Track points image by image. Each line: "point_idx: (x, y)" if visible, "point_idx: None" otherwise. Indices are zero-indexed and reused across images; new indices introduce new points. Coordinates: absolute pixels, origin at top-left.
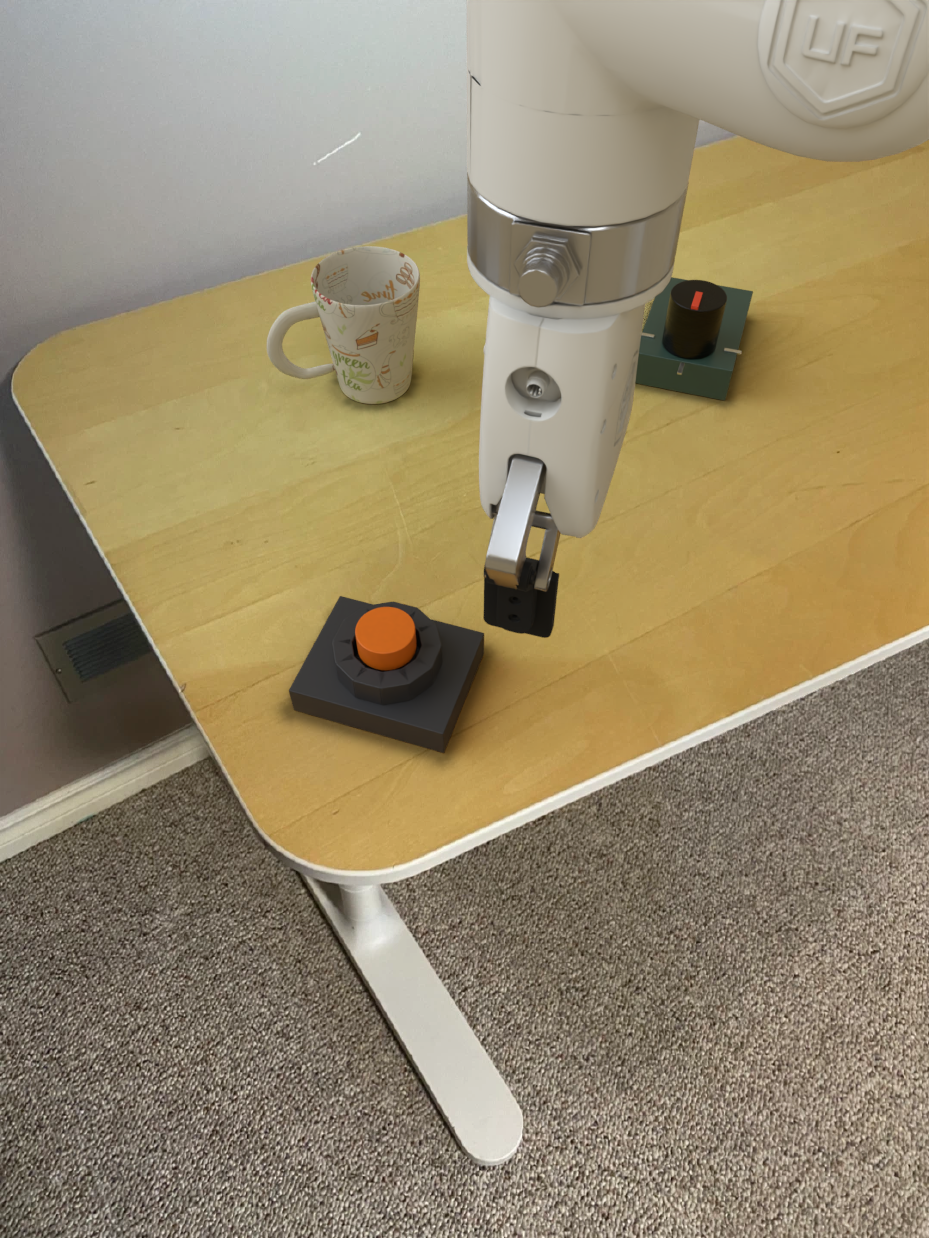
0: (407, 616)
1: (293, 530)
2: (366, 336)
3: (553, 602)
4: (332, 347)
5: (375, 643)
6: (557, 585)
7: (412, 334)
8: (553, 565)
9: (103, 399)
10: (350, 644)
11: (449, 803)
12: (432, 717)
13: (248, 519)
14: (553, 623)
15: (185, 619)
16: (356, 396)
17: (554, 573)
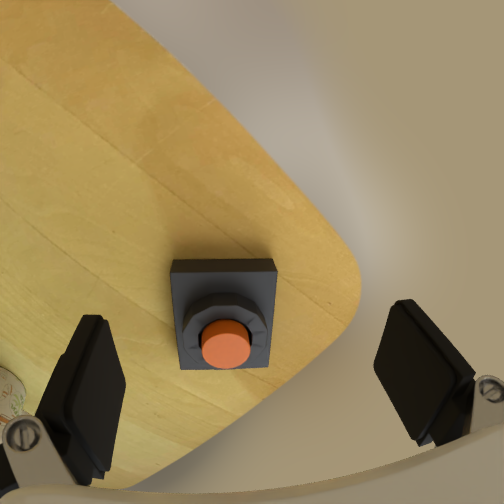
0: (207, 343)
1: (131, 395)
2: (4, 422)
3: (449, 342)
4: None
5: (242, 353)
6: (455, 360)
7: None
8: (475, 398)
9: (108, 471)
10: None
11: (310, 242)
12: (264, 282)
13: (137, 414)
14: (409, 307)
15: (220, 414)
16: (23, 392)
17: (462, 382)
